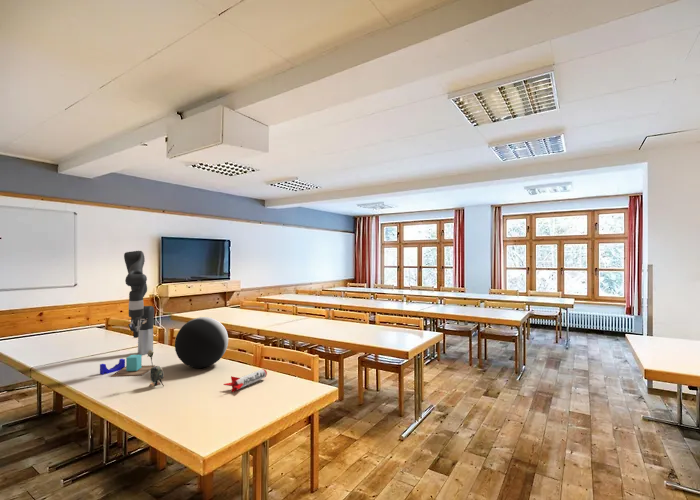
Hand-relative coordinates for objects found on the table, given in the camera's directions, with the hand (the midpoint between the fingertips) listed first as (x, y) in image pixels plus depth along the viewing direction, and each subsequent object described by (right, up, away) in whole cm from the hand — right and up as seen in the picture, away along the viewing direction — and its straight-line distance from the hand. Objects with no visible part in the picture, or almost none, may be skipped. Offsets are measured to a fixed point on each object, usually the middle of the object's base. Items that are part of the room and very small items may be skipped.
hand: (136, 337), depth 202 cm
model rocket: (+74, -20, -25) cm, 81 cm away
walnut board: (0, -20, -2) cm, 20 cm away
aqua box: (0, -18, -2) cm, 18 cm away
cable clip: (-13, -20, -1) cm, 24 cm away
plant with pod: (+26, -20, -26) cm, 42 cm away
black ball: (+35, -20, +8) cm, 41 cm away
